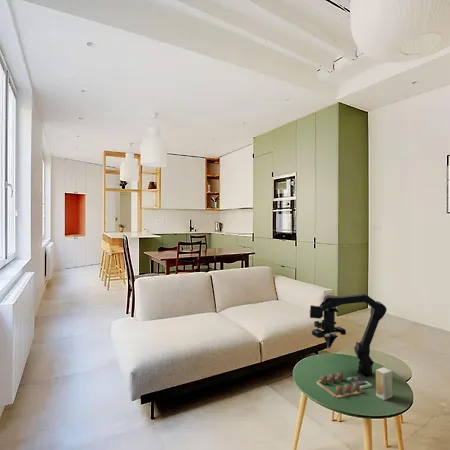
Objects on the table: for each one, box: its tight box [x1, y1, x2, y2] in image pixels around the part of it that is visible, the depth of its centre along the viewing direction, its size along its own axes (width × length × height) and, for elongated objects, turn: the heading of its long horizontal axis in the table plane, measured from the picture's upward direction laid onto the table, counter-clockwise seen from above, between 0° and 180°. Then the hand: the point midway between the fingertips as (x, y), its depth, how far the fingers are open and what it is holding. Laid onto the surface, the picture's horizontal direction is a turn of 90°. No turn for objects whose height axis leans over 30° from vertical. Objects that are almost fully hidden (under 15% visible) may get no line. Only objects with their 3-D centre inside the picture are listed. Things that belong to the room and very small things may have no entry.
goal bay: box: [346, 376, 373, 390], centre depth 149 cm, size 7×9×1 cm
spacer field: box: [315, 371, 364, 399], centre depth 145 cm, size 16×15×4 cm
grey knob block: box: [350, 375, 366, 386], centre depth 148 cm, size 4×4×3 cm
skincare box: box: [375, 366, 393, 401], centre depth 137 cm, size 6×4×12 cm
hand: (328, 347), depth 163 cm, fingers closed
